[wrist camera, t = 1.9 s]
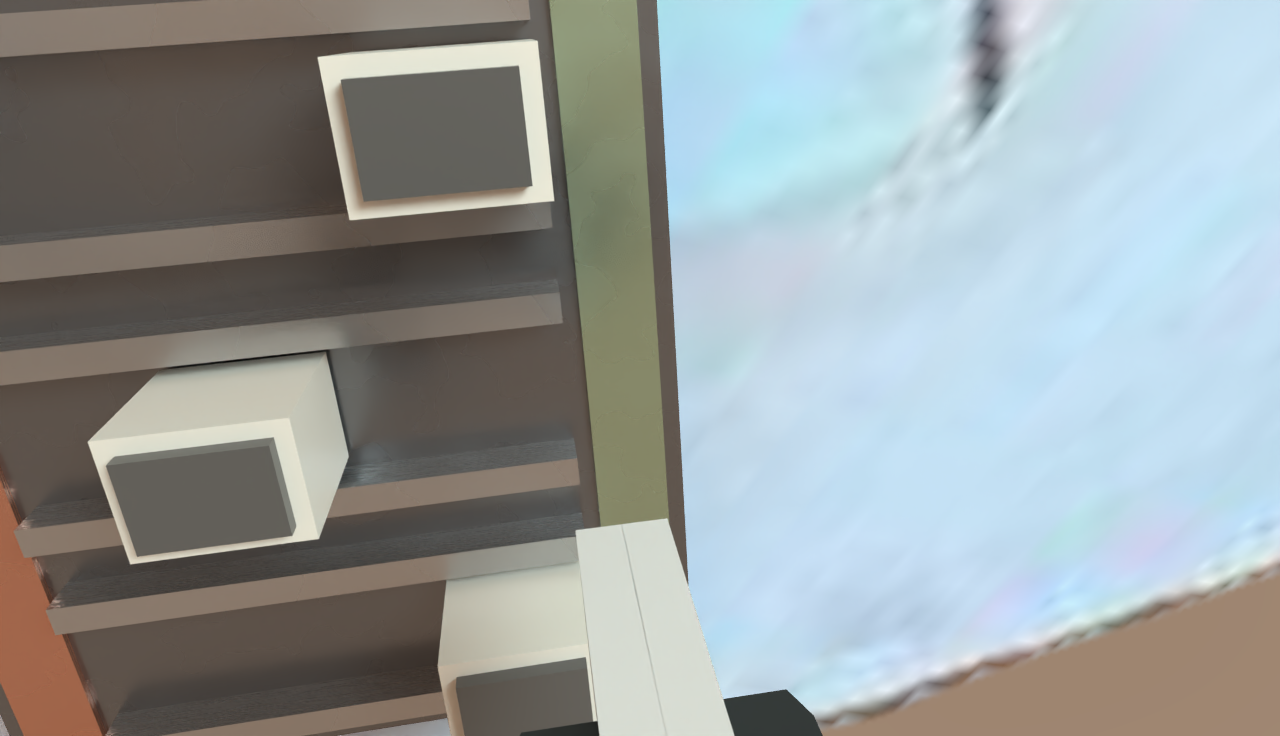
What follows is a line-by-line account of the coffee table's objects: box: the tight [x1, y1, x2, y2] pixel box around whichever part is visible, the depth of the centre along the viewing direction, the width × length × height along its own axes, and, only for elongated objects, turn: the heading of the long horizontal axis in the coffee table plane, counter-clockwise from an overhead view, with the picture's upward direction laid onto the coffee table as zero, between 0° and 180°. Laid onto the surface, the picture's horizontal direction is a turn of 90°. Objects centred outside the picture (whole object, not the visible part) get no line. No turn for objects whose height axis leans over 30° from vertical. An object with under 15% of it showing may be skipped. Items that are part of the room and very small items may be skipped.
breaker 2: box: [318, 39, 554, 220], centre depth 18 cm, size 4×3×4 cm
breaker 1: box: [88, 352, 349, 564], centre depth 20 cm, size 4×3×4 cm
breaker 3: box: [438, 561, 597, 736], centre depth 23 cm, size 4×3×4 cm
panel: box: [0, 0, 688, 736], centre depth 23 cm, size 20×22×3 cm
